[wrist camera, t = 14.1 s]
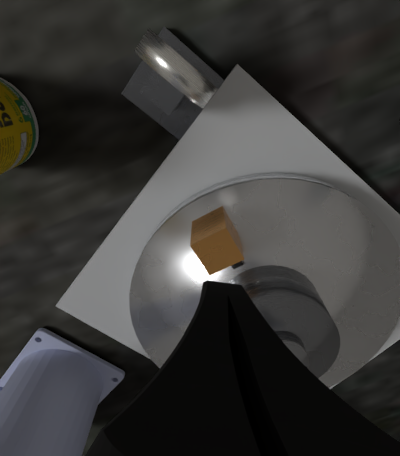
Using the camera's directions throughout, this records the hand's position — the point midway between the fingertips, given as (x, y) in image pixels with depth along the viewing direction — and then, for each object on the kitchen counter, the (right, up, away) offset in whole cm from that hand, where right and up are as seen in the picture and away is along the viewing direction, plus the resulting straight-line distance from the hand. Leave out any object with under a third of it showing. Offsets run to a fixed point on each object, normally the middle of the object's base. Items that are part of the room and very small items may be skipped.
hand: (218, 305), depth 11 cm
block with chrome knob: (-2, +11, +7) cm, 13 cm away
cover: (+4, -3, +10) cm, 11 cm away
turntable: (+4, -2, +11) cm, 12 cm away
